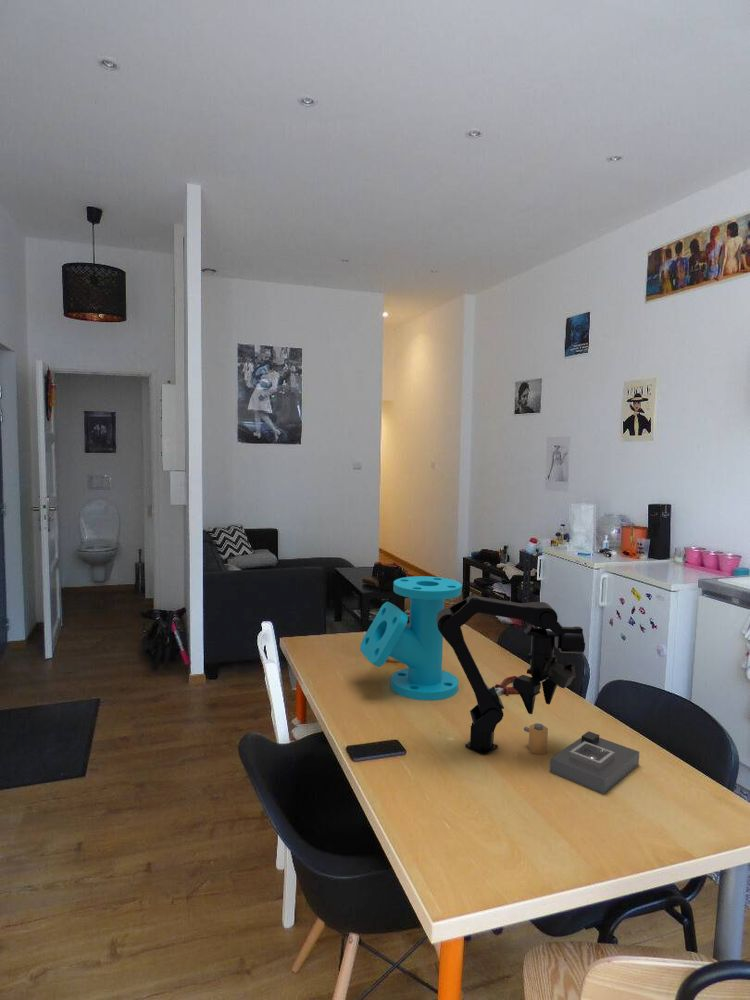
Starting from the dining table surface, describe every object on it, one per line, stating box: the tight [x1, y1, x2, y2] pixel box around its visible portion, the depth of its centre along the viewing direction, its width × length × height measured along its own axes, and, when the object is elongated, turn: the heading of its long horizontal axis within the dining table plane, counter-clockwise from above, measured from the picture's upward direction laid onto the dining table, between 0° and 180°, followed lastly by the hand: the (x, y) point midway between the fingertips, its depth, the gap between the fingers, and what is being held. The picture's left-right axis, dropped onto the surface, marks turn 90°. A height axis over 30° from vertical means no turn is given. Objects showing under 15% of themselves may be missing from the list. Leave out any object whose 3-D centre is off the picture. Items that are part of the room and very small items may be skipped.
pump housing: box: [523, 722, 549, 755], centre depth 168 cm, size 5×7×7 cm
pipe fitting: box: [359, 575, 463, 701], centre depth 207 cm, size 22×32×35 cm
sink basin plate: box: [549, 731, 640, 795], centre depth 158 cm, size 20×14×5 cm
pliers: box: [494, 675, 520, 697], centre depth 207 cm, size 12×20×3 cm, turn 125°
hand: (539, 708), depth 167 cm, fingers open, 9 cm apart
